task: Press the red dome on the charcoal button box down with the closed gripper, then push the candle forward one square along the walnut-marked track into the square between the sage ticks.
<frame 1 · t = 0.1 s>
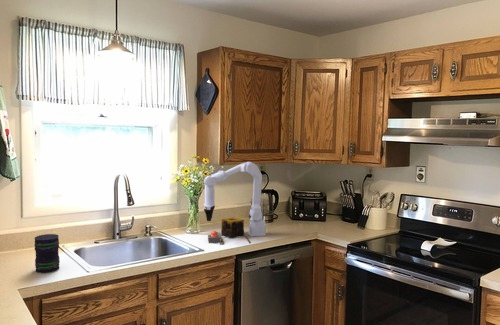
hand: (209, 219, 245), 10 cm above the countertop, tool pointing down, fingers open, 7 cm apart
dome: (214, 235, 236), point 4 cm above the countertop, slide at 0.0 cm
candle: (232, 236, 249), on the countertop
button box: (214, 241, 236), on the countertop
storage jar: (47, 270, 187), on the countertop
track: (233, 238, 243), on the countertop
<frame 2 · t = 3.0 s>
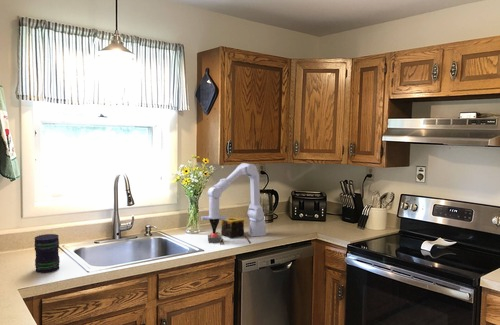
hand: (214, 232, 235), 5 cm above the countertop, tool pointing down, fingers closed, pressing on dome
dome: (214, 236, 236), point 3 cm above the countertop, slide at 0.9 cm, touching gripper
everything else where it was.
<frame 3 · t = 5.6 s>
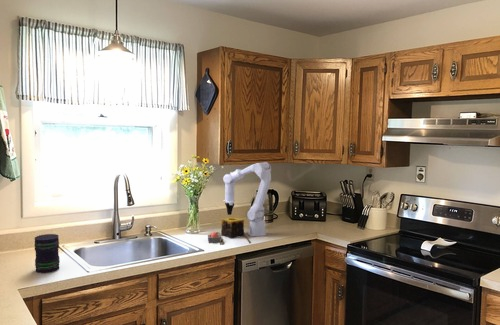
hand: (229, 214, 262), 10 cm above the countertop, tool pointing down, fingers closed
dome: (214, 236, 236), point 3 cm above the countertop, slide at 0.9 cm
everything else where it was.
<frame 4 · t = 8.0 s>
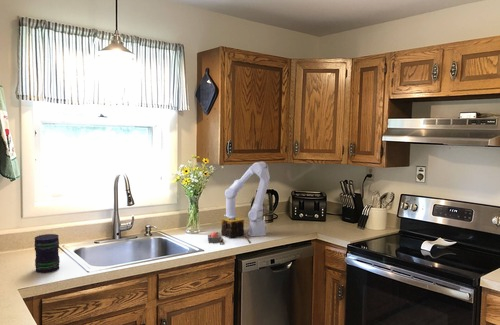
hand: (230, 229, 257), 1 cm above the countertop, tool pointing down, fingers closed
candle: (232, 235, 249), on the countertop, touching gripper
everything else where it was.
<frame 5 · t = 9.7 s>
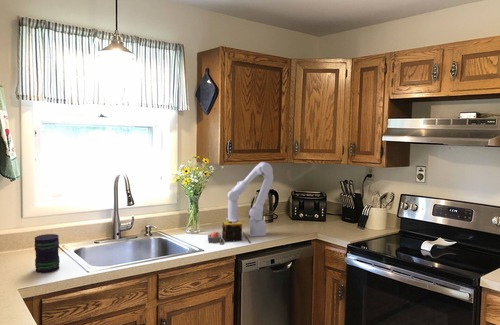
hand: (232, 233, 248), 1 cm above the countertop, tool pointing down, fingers closed
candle: (231, 239, 240), on the countertop, touching gripper
everything else where it was.
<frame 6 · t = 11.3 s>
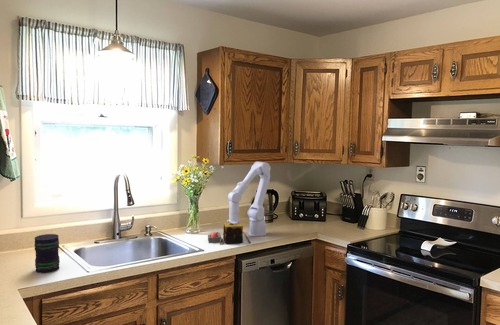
hand: (233, 235, 243), 1 cm above the countertop, tool pointing down, fingers closed
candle: (232, 241, 235), on the countertop, touching gripper
everything else where it was.
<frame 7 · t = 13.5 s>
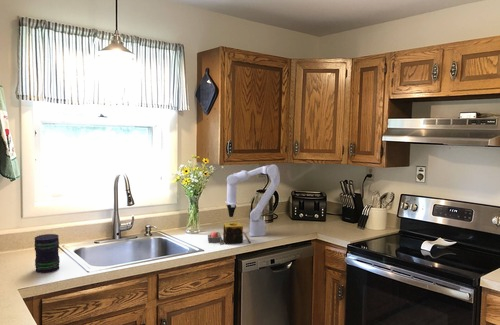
hand: (231, 216, 252), 10 cm above the countertop, tool pointing down, fingers closed
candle: (232, 242, 235), on the countertop
everything else where it was.
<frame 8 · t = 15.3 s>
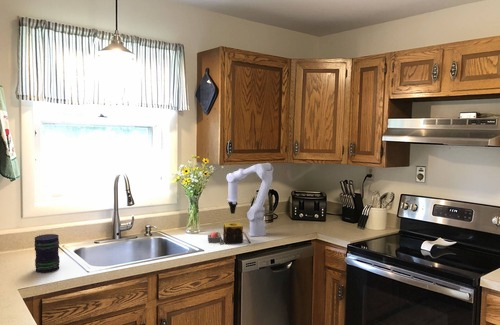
hand: (232, 213, 262), 10 cm above the countertop, tool pointing down, fingers closed
nothing on the countertop moved.
at the end: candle inside the target area (2.1 cm from its centre), on the countertop; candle tilted 0°; dome slide at 0.9 cm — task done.
